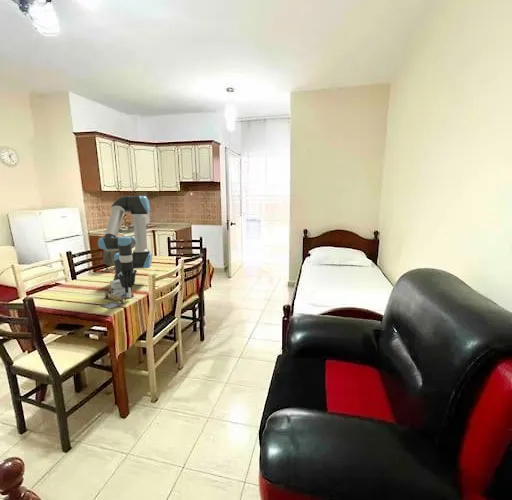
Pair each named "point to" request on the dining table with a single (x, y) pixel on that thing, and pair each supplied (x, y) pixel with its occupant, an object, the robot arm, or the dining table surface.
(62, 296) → the dining table surface
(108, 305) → the charcoal mat
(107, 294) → the brass lever
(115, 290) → the ink box
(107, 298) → the walnut cradle
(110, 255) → the tabletop clock
